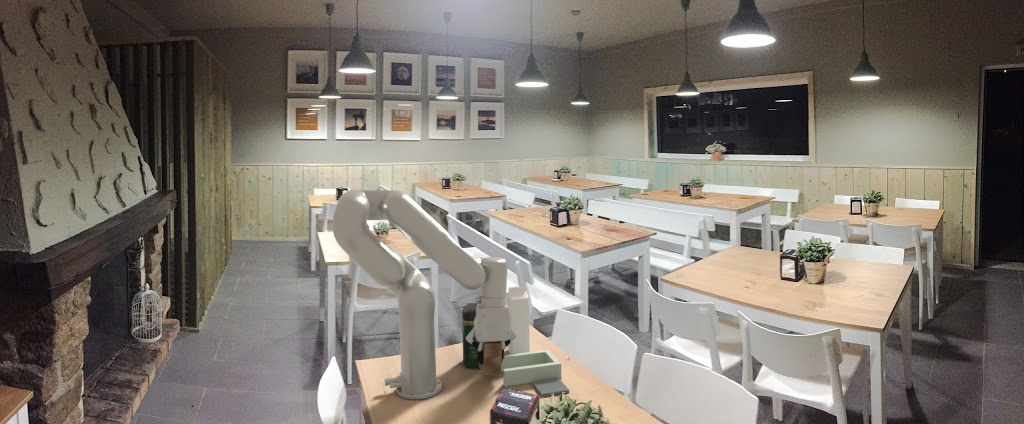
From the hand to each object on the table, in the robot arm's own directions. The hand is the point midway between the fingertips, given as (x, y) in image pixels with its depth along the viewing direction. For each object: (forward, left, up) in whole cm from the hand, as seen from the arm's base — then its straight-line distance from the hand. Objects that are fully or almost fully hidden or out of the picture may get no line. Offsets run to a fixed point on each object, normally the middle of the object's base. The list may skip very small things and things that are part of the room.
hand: (490, 361), depth 156 cm
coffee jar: (-1, +13, -6) cm, 14 cm away
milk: (+14, +17, -6) cm, 23 cm away
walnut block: (0, 0, -3) cm, 3 cm away
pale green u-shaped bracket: (+11, 0, -6) cm, 12 cm away
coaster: (+15, -10, -6) cm, 19 cm away
